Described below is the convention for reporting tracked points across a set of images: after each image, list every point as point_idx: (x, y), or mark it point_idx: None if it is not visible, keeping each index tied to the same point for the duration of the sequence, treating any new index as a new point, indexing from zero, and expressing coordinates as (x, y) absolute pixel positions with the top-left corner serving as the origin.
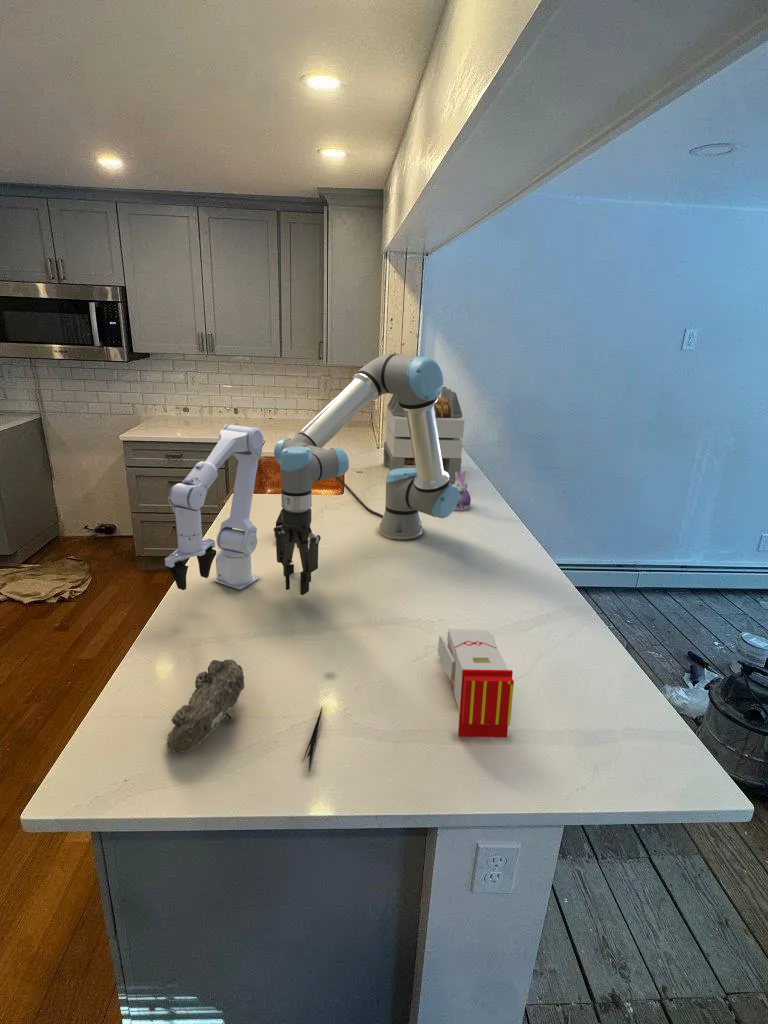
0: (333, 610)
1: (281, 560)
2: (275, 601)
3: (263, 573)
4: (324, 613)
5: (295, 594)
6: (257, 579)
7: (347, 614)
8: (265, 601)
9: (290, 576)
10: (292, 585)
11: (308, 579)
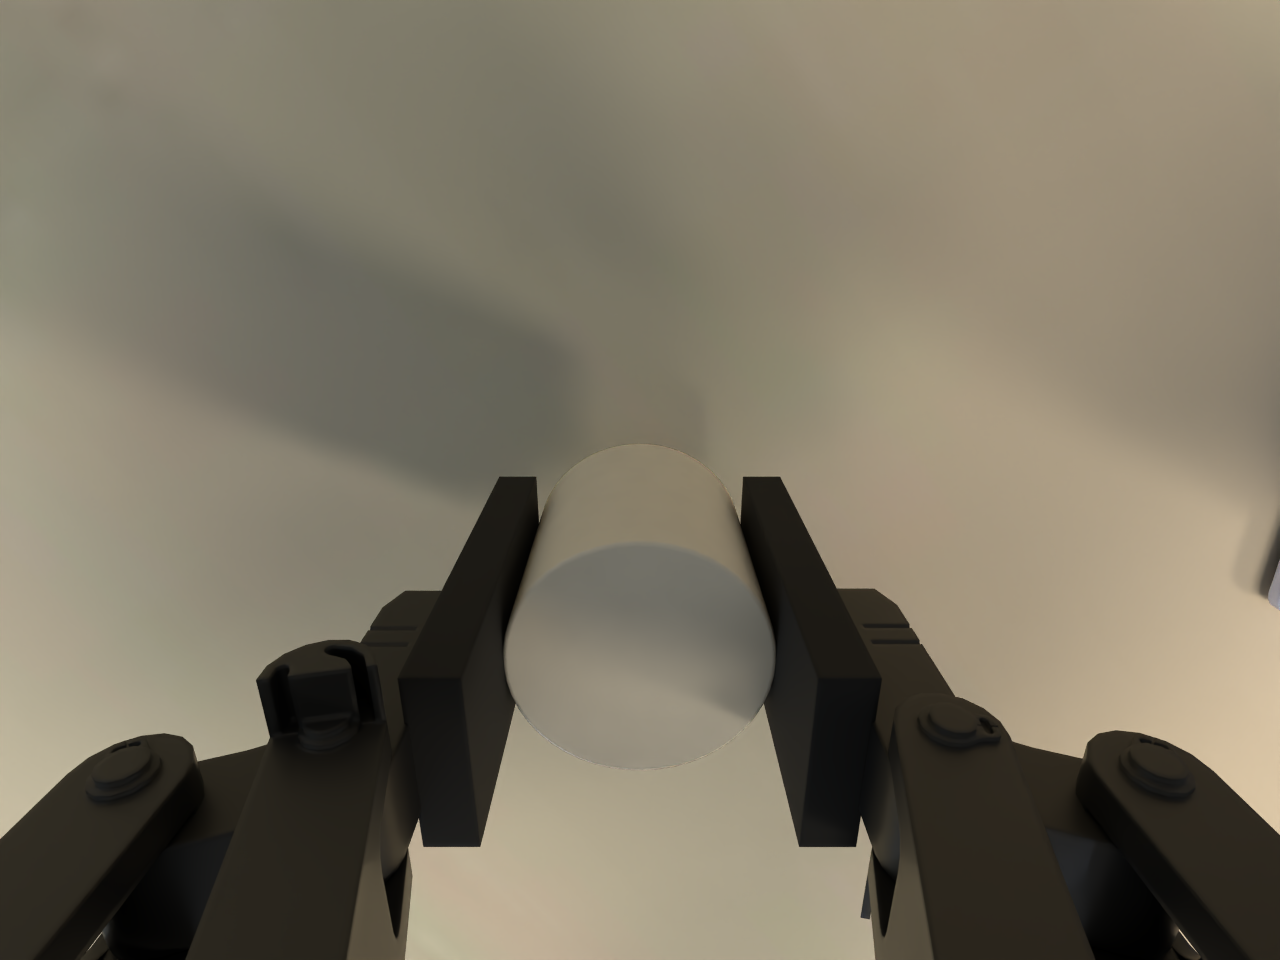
0: (191, 508)
1: (1087, 810)
2: (825, 322)
3: (1266, 713)
4: (210, 410)
5: (600, 451)
6: (1271, 585)
7: (30, 519)
8: (931, 254)
9: (724, 588)
10: (641, 490)
11: (368, 646)
